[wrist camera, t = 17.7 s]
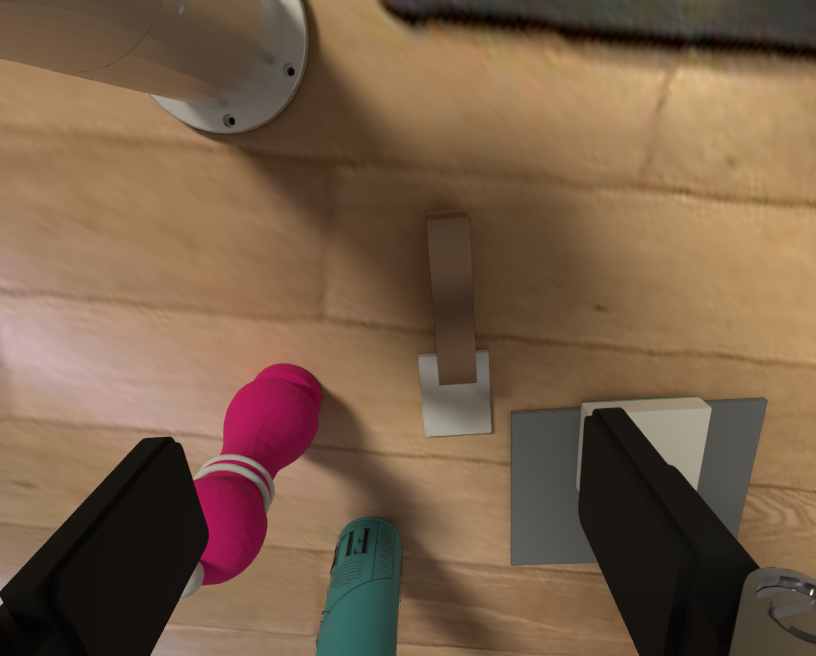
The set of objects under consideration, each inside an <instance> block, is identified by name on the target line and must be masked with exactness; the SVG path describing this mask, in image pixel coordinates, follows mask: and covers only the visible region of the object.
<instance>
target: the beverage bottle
mask: <svg viewBox="0 0 816 656" xmlns="http://www.w3.org/2000/svg"><path fill="white" fill-rule="evenodd" d="M339 535H340V534H339ZM338 539H339V542H338V543H337V544H338V547H337V545H336V548H335V556H334V559H333V560H334V562H333V564H332V568H333V571H332V568H331V571H332V573H331V572H330V574H331V581H330V586H329V591H328V595H327V600H326V605H325V610H324V611H323V612H324V613H322V614H323V620H322V622H321V621H320V622H321V623H322V625H321V627H320V626H319V627H320V628H321V630H320V635H319V639H318V638H317V639H318V641H317V639H316V641H317V642H316V644H317V643H318V644H317V645H316V647H317V650H316V656H396V649H397V625H398V616H399V615H398V609H399V594H400V584H402V579H401V583H400V578H401V577H400V575H402V574H400V573H401V572H400V570H401V568H402V567H401V566H402V565H401V559H403V555H402V558H401V547H402V544H401V539H400V536H399V533H398V531H397V530H396V529H395V527H394V526H393V525H391V524H390V523H389V522H387V521H385V520H383V519H380V518H375V517H362V518H358V519H355V520H353V521H351V522H350V523H349V524H348V525H347V526H346V527H345V528H344V529H343V531H342V533H341V535H340V538H338ZM336 550H337V552H336ZM401 588H402V587H401ZM400 601H401V600H400ZM318 633H319V632H318ZM317 636H318V635H317ZM314 653H315V651H314Z"/></svg>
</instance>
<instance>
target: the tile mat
mask: <svg viewBox="0 0 816 656" xmlns="http://www.w3.org/2000/svg"><path fill="white" fill-rule="evenodd" d="M767 401H768V400H766V399H765V398H747V399H728V400H710V401H704V402H705V403H707V404H708V405H709V406H710V407H711V408H712V410H711V416H710V421H709V426H708V432H707V437H706V443H705V448H704V454H703V459H702V464H701V470H700V475H699V481H698V486H697V493H698V494H699V495H700V496H701V497H702V499H703V500H704V501H705V502H706V503H707V505H708V506H709V507H710V508H711V509H712V511H713V512H714V513H715V514H716V515H717V517H718V518H719V519H720V520H721V522H722V523H723V524H724V525H725V526H726V528H727V529H728V530H729V531H730V532H731V534H732V535H733V536H734V537H735V538H737V534H738V529H739V525H740V521H741V516H742V512H743V507H744V503H745V498H746V494H747V490H748V485H749V481H750V476H751V472H752V468H753V463H754V459H755V454H756V450H757V445H758V441H759V437H760V432H761V428H762V423H763V419H764V415H765V410H766V406H767ZM580 411H581V407H580V408H561V409H542V410H524V411H511V565H512V566H516V565H543V564H570V563H597V560H596V557H595V555H594V553H593V551H592V548H591V546H590V544H589V542H588V540H587V537H586V535H585V533H584V531H583V528H582V526H581V523H580V520H579V514H578V502H579V492H578V490H577V488H576V486H575V484H576V469H577V455H578V440H579V426H580Z"/></svg>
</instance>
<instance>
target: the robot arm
mask: <svg viewBox="0 0 816 656" xmlns="http://www.w3.org/2000/svg"><path fill="white" fill-rule="evenodd" d="M308 49H309V35H308V22H307V18H306V13H305V8H304V4H303V1H302V0H0V59H4V60H9V61H14V62H18V63H22V64H26V65H31V66H35V67H39V68H44V69H48V70H52V71H55V72H59V73H64V74H68V75H72V76H76V77H81V78H85V79H89V80H93V81H98V82H102V83H106V84H110V85H114V86H119V87H123V88H127V89H131V90H136V91H140V92H144V93H148V94H149V95H150V96H151V97H152V98H153V99H154V100H155V101H156V102H157V103H158V104H159V105H160V106H161V107H162V108H163V109H164V110H165V111H167V112H168V113H170V114H171V115H172V116H174V117H175V118H177V119H178V120H180V121H182V122H184V123H186V124H188V125H190V126H192V127H194V128H198V129H201V130H205V131H209V132H214V133H222V134H230V133H243V132H247V131H251V130H255V129H257V128H259V127H261V126H263V125H265V124H267V123H269V122H271V121H272V120H273V119H274V118H275V117H277V116H278V115H279V114H280V113H282V112H283V111H284V109H285V108H286V107H287V105H288V104H289V103H290V102H291V100H292V99H293V98H294V96H295V94H296V92H297V90H298V88H299V86H300V84H301V82H302V79H303V75H304V72H305V69H306V65H307V58H308ZM292 68H293V69H294V70H295V74H294V75H293V76H290V75H289V70H290V69H292ZM232 118H234V119H235V125H232V124H231V119H232ZM578 514H579V520H580V523H581V526H582V528H583V531H584V533H585V535H586V537H587V540H588V542H589V544H590V546H591V548H592V551H593V553H594V555H595V557H596V560H597V562H598V564H599V566H600V569H601V571H602V573H603V575H604V578H605V580H606V582H607V584H608V587H609V589H610V591H611V593H612V595H613V598H614V600H615V602H616V604H617V607H618V609H619V611H620V613H621V616H622V618H623V620H624V622H625V625H626V627H627V629H628V631H629V634H630V636H631V638H632V640H633V642H634V645H635V647H636V649H637V651H638V654H639V656H816V579H814V578H812V577H810V576H808V575H806V574H803V573H800V572H796V571H793V570H790V569H785V568H777V567H767V568H760V567H759V566H758V565H757V564H756V563H755V561H754V560H753V559H752V558H751V557H750V555H749V554H748V553H747V552H746V551H745V549H744V548H743V547H742V546H741V544H740V543H739V542H738V541H737V540H736V538H735V537H734V536H733V535H732V534H731V532H730V531H729V530H728V529H727V528H726V526H725V525H724V524H723V523H722V522H721V520H720V519H719V518H718V517H717V515H716V514H715V513H714V512H713V511H712V509H711V508H710V507H709V506H708V505H707V503H706V502H705V501H704V500H703V499H702V497H701V496H700V495H699V494H698V493H697V491H696V490H695V489H694V488H693V487H692V485H691V484H690V483H689V482H688V480H687V479H686V478H685V477H684V476H683V474H682V473H681V472H680V471H679V470H678V469H677V468H676V467H675V466H673V465H670V464H667V462H666V461H665V460H664V459H663V457H662V456H661V455H660V454H659V452H658V451H657V450H656V449H655V447H654V446H653V445H652V444H651V443H650V441H649V440H648V439H647V438H646V436H645V435H644V434H643V433H642V431H641V430H640V429H639V428H638V426H637V425H636V424H635V423H634V422H633V420H632V419H631V418H630V417H629V415H628V414H627V413H626V412H625V410H624V409H623V408H621V407H613V408H597V409H594V410H593V412H592V415H590V416H586V417H585V419H584V429H583V444H582V458H581V473H580V487H579V502H578ZM208 540H209V529H208V526H207V522H206V519H205V516H204V513H203V510H202V507H201V504H200V500H199V497H198V494H197V491H196V488H195V485H194V482H193V478H192V475H191V472H190V469H189V466H188V463H187V460H186V456H185V453H184V450H183V447H182V445H181V444H180V443H178V442H175V440H174V439H173V438H172V437H155V438H145V439H143V440H141V441H140V442H139V443H138V444H137V445H136V446H135V447H134V448H133V449H132V451H131V452H130V453H129V454H128V455H127V456H126V457H125V458H124V459H123V460H122V461H121V462H120V463H119V464H118V466H117V467H116V468H115V469H114V470H113V471H112V472H111V473H110V474H109V475H108V476H107V477H106V478H105V480H104V481H103V482H102V483H101V484H100V485H99V486H98V487H97V488H96V489H95V490H94V491H93V492H92V493H91V495H90V496H89V497H88V498H87V499H86V500H85V501H84V502H83V503H82V504H81V505H80V506H79V507H78V508H77V510H76V511H75V512H74V513H73V514H72V515H71V516H70V517H69V518H68V519H67V520H66V521H65V522H64V523H63V525H62V526H61V527H60V528H59V529H58V530H57V531H56V532H55V533H54V534H53V535H52V536H51V537H50V538H49V540H48V541H47V542H46V543H45V544H44V545H43V546H42V547H41V548H40V549H39V550H38V551H37V552H36V553H35V555H34V556H33V557H32V558H31V559H30V560H29V561H28V562H27V563H26V564H25V565H24V566H23V567H22V568H21V570H20V571H19V572H18V573H17V574H16V575H15V576H14V577H13V578H12V579H11V580H10V581H9V582H8V584H7V585H6V586H5V587H4V588H3V589H2V590H1V591H0V597H1V599H2V601H3V604H2V605H1V606H0V656H150V655H151V653H152V651H153V649H154V647H155V645H156V643H157V641H158V639H159V638H160V636H161V634H162V632H163V630H164V628H165V626H166V624H167V622H168V620H169V618H170V616H171V614H172V612H173V611H174V609H175V607H176V605H177V603H178V601H179V599H180V597H181V595H182V593H183V591H184V589H185V587H186V585H187V584H188V582H189V580H190V578H191V576H192V574H193V572H194V570H195V568H196V566H197V564H198V562H199V560H200V558H201V557H202V555H203V553H204V551H205V549H206V547H207V544H208Z"/></svg>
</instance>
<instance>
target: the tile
mask: <svg viewBox="0 0 816 656" xmlns="http://www.w3.org/2000/svg"><path fill="white" fill-rule="evenodd" d="M613 407H621V408H623V409H624V410H625V412H626V413H627V414H628V415H629V417H630V418H631V419H632V420H633V422H634V423H635V424H636V425H637V426H638V428H639V429H640V430H641V431H642V433H643V434H644V435H645V436H646V438H647V439H648V440H649V441H650V443H651V444H652V445H653V446H654V447H655V449H656V450H657V451H658V452H659V454H660V455H661V456H662V457H663V459H664V460H665V461H666V462H667V464H670V465H673V466H675V467H676V468H677V469H678V470H679V471H680V472H681V473H682V474H683V476H684V477H685V478H686V479H687V480H688V482H689V483H690V484H691V485H692V487H693V488H694V489H695V490H696V491H697V486H698V481H699V475H700V470H701V464H702V459H703V454H704V448H705V443H706V437H707V432H708V426H709V421H710V416H711V410H712V408H711V407H710V406H709V405H708V404H707V403H705V402H704V401H703V400H702V399H701V398H700V397H698V396H692V397H672V398H652V399H632V400H613V401H593V402H581V411H580V426H579V440H578V455H577V469H576V484H575V486H576V488H577V490H578V492H579V487H580V473H581V458H582V444H583V429H584V419H585V417H586V416H590V415H592V412H593V410H594V409H597V408H613Z"/></svg>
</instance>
